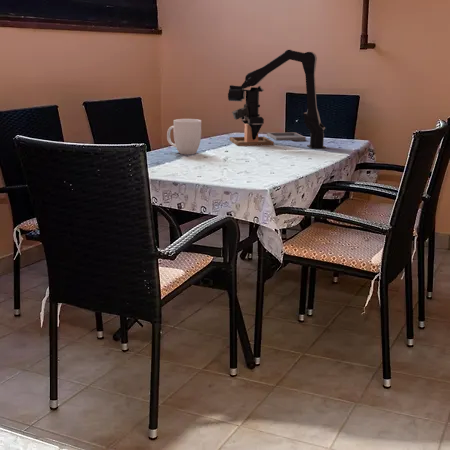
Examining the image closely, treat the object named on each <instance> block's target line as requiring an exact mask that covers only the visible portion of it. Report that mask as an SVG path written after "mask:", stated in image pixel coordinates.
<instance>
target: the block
mask: <svg viewBox="0 0 450 450" xmlns="http://www.w3.org/2000/svg"><path fill="white" fill-rule="evenodd" d="M243 135H244V136H243V137H244V142H258V137H259V133H258V134H257V137H256V139H255V140H253V139H252V132H251V127H250V126H249V125H248V124H244V134H243Z"/></svg>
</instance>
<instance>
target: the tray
mask: <svg viewBox="0 0 450 450" xmlns="http://www.w3.org/2000/svg"><path fill="white" fill-rule="evenodd" d="M266 137H269V138H271V139H273V140H274V141H291V142H306V139H307V138H306V136H304V135H302V134H299V133H297V132H293V131H292V132H266Z"/></svg>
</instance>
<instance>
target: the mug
mask: <svg viewBox="0 0 450 450" xmlns="http://www.w3.org/2000/svg"><path fill="white" fill-rule="evenodd" d="M172 130H173V140H174V143H173V141H172V140H171V131H172ZM166 140H167V142H168V144H169V145H171V146H172V147H174V148H176V150H177V151H178V153H179V154H180V155H195V154H196V153H197V152H198V150H199V149H200V144H201V141H202V119H197V118H177V119H173V125H171V126H169V128H168V129H167V132H166Z"/></svg>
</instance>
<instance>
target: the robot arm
mask: <svg viewBox="0 0 450 450" xmlns="http://www.w3.org/2000/svg"><path fill="white" fill-rule="evenodd" d="M317 59H318V57H317V54H316V53H315V52H313V51H305V52H302V51H296V50H293V49H286V50H285V51H283V52H282V53H281V54H280V55H279V56H277V57H276V58H274V59H272V60H271V61H269V62H267V63H266V64H265V65H264V66H262V67H260V68H258V69H255V70H253V71H250V72H249V73H247V74H246V75H245V78H244V82H243V83H242V84H241V85H233V84H231V85H229V89H228V92H227V100H228V101H229V102H243V100H245V103H244V104H243V107H241V108H237V109H236V110H233V111H232V112H231V113H232V116H233V119H234V120H235V121H236V120H241V122H242V123H243V124H244V125H245V124H248V125H249V126H250V127H251V132H252V139H253V140H255V139H256V137H257V134H258V135H259V132H260V130H261V128H262V126H263V125H264V122H265V120H264V119H265V118H263V117H262V116H260V115H261V114H260V113H259V109H260V107H261V105H260V92H261V93H262V92H264V91H265V90H264V88H262V86H261V85H259V84H260V83H261V82H262V81H263V80H264V79H265V78H266V77H267V76H268V75H269V74H271V73H272V72H274V71H275V70H276V69H278V68H280V67H281V66H282V65H284V64H285V63H287V62H289V61H290V60H291V61H295V62H300V63H301V64H302V69H303V71H304V75H305V90H306V102H307V105H306V106H307V110H306V112H303V118H304V121H303V124H305V127H306V129H308V130H309V133H310V134H309V137H310V138H309V144H307V145H306V146H307V147H309V148H311V149H326V148H327V147H326V146H325V145H324V140H325V139H324V138H325V133H324V132H325V129H326V127H325V125H324V124H323V123H322V122H321V118H320V112H319V109H318V105H317V91H316V69H317V61H318V60H317ZM258 85H259V86H258ZM255 86H257V87H255ZM248 88H250V89H248Z"/></svg>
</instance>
